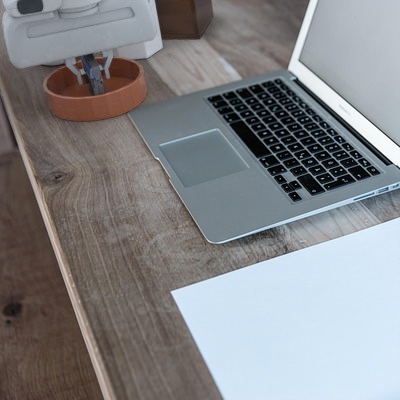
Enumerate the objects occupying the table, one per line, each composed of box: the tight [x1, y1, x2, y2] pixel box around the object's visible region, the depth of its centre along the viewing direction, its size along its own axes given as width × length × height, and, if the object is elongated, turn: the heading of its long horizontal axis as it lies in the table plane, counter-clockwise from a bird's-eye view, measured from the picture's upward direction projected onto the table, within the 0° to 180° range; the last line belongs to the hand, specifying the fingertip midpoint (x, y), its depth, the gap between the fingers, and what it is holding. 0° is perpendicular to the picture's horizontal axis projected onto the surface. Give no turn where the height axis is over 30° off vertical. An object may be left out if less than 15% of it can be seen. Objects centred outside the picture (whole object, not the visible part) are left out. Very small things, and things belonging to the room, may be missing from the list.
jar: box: [112, 0, 164, 61], centre depth 115 cm, size 9×8×12 cm
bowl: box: [42, 56, 148, 122], centre depth 103 cm, size 14×14×4 cm
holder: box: [155, 0, 214, 40], centre depth 124 cm, size 14×11×8 cm
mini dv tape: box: [79, 53, 106, 96], centre depth 102 cm, size 8×2×6 cm, turn 25°
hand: (93, 81), depth 102 cm, fingers closed on mini dv tape, 1 cm apart
